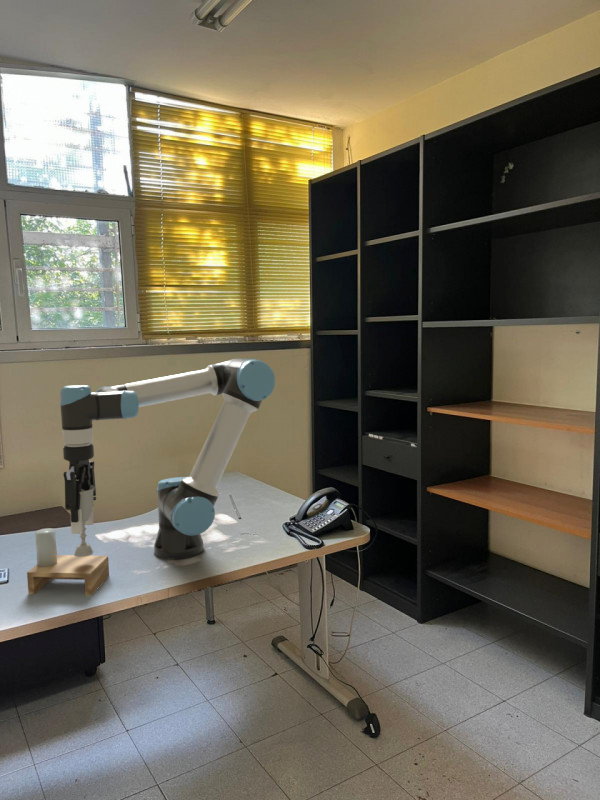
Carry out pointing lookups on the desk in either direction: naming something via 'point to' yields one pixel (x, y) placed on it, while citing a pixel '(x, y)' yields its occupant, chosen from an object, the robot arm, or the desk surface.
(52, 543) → the white glossy rounded part
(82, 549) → the chalice
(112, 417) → the robot arm
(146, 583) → the desk surface
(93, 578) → the shelf
